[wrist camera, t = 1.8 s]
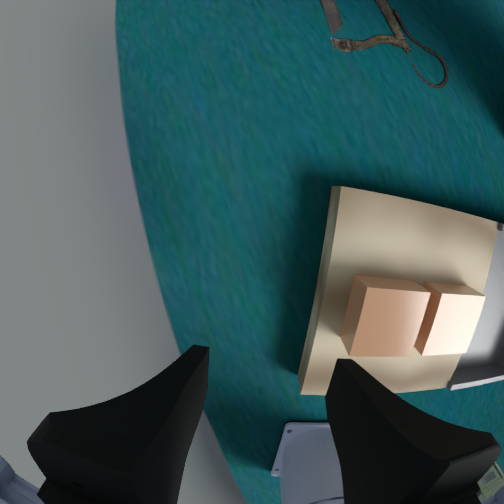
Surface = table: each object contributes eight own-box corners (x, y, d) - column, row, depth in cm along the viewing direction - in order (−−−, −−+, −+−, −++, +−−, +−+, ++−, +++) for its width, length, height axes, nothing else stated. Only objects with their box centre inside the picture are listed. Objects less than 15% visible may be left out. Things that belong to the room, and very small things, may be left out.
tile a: (396, 338, 19) (409, 356, 16) (339, 336, 19) (349, 356, 16) (412, 280, 18) (430, 292, 15) (354, 274, 18) (367, 287, 15)
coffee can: (458, 496, 30) (477, 539, 17) (449, 488, 29) (472, 539, 15) (497, 466, 29) (522, 507, 15) (494, 454, 27) (524, 501, 13)
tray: (495, 364, 22) (509, 377, 19) (436, 373, 22) (450, 390, 19) (535, 235, 19) (554, 241, 16) (481, 218, 19) (503, 223, 16)
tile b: (450, 338, 19) (466, 352, 16) (407, 338, 19) (421, 355, 16) (467, 285, 18) (486, 296, 15) (424, 281, 18) (442, 293, 15)
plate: (434, 373, 22) (446, 387, 20) (297, 375, 22) (300, 394, 20) (480, 218, 19) (498, 222, 16) (331, 186, 19) (341, 186, 17)
